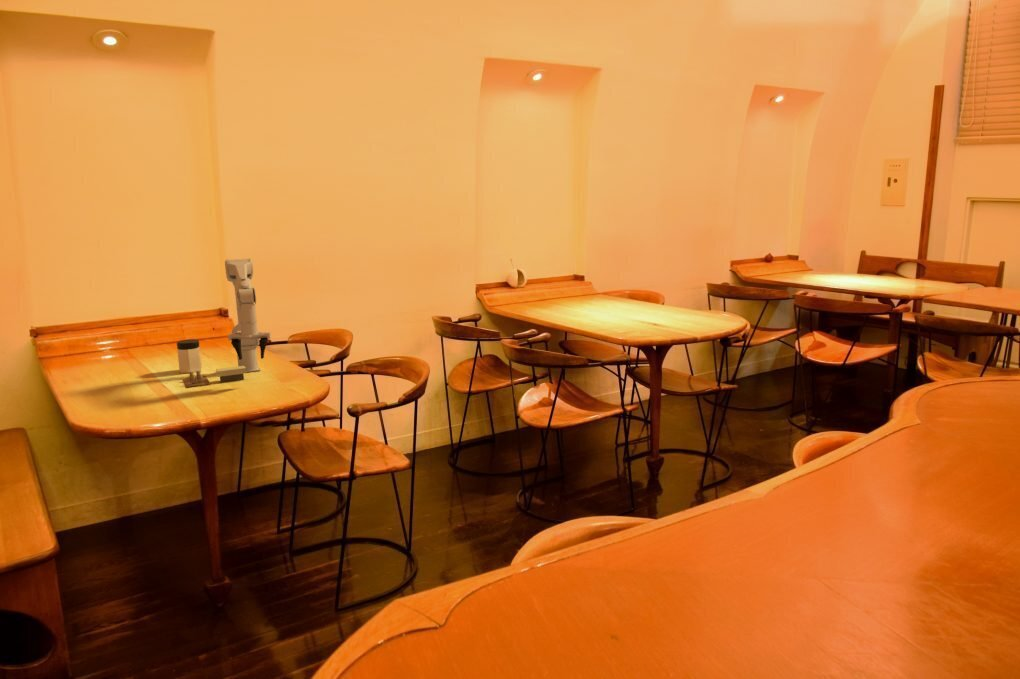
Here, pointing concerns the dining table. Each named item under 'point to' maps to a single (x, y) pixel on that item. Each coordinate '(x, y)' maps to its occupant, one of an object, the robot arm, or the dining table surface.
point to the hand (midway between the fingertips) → (251, 358)
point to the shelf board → (231, 371)
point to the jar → (189, 355)
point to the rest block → (232, 378)
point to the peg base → (196, 380)
